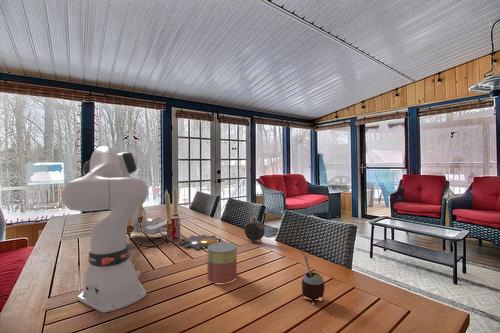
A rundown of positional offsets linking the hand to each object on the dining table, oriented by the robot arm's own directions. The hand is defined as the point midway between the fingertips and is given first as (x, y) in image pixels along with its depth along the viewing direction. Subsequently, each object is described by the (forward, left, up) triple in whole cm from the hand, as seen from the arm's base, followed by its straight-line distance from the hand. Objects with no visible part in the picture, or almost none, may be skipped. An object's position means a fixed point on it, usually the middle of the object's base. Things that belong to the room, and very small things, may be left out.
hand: (172, 227), depth 143 cm
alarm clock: (-37, -28, -7) cm, 47 cm away
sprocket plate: (-16, -8, -7) cm, 19 cm away
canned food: (-55, +12, -7) cm, 57 cm away
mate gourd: (-88, +3, -7) cm, 88 cm away
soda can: (0, 0, -7) cm, 7 cm away
